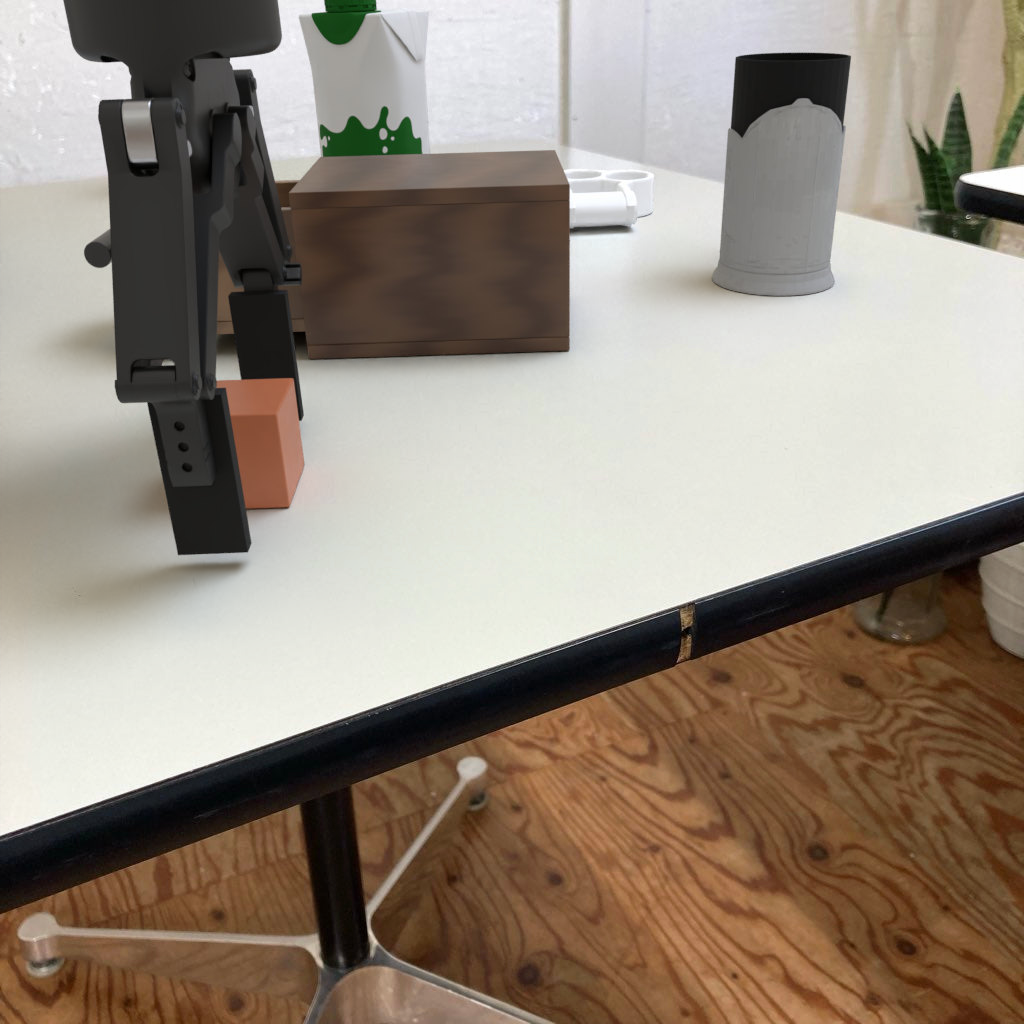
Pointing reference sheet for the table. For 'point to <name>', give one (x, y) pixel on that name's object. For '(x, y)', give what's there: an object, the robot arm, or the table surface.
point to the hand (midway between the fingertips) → (249, 476)
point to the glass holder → (782, 173)
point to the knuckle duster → (609, 196)
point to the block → (266, 439)
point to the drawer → (223, 268)
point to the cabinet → (434, 254)
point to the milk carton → (368, 78)
